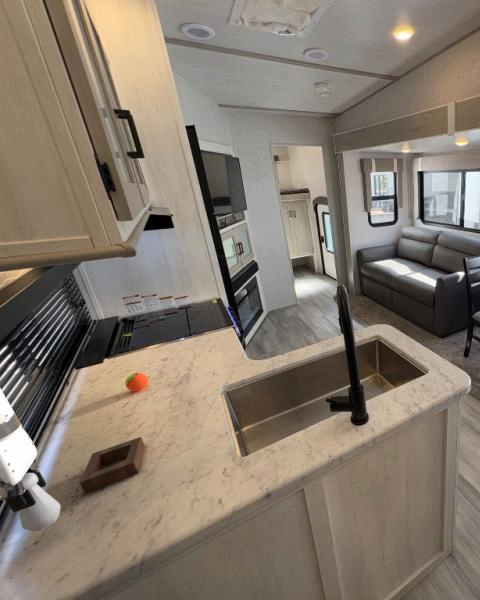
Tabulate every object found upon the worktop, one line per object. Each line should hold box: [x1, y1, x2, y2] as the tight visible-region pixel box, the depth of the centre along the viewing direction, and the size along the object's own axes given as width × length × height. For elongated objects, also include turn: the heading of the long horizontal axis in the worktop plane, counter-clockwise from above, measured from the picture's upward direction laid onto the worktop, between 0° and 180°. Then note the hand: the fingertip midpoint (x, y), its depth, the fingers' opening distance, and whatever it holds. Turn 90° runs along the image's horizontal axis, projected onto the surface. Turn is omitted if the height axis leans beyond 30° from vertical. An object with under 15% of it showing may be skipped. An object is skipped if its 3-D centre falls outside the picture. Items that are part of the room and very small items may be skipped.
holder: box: [79, 436, 146, 495], centre depth 86 cm, size 11×11×4 cm
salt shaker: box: [7, 473, 62, 532], centre depth 67 cm, size 6×6×13 cm
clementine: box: [124, 372, 149, 392], centre depth 121 cm, size 8×7×7 cm
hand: (30, 497), depth 66 cm, fingers closed on salt shaker, 4 cm apart
